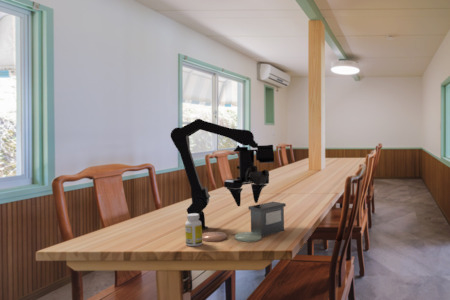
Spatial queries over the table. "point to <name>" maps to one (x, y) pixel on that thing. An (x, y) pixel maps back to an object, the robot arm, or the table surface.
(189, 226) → the supplement bottle
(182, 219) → the table surface
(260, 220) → the box unit
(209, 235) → the peach domed disc
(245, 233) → the sage coaster
